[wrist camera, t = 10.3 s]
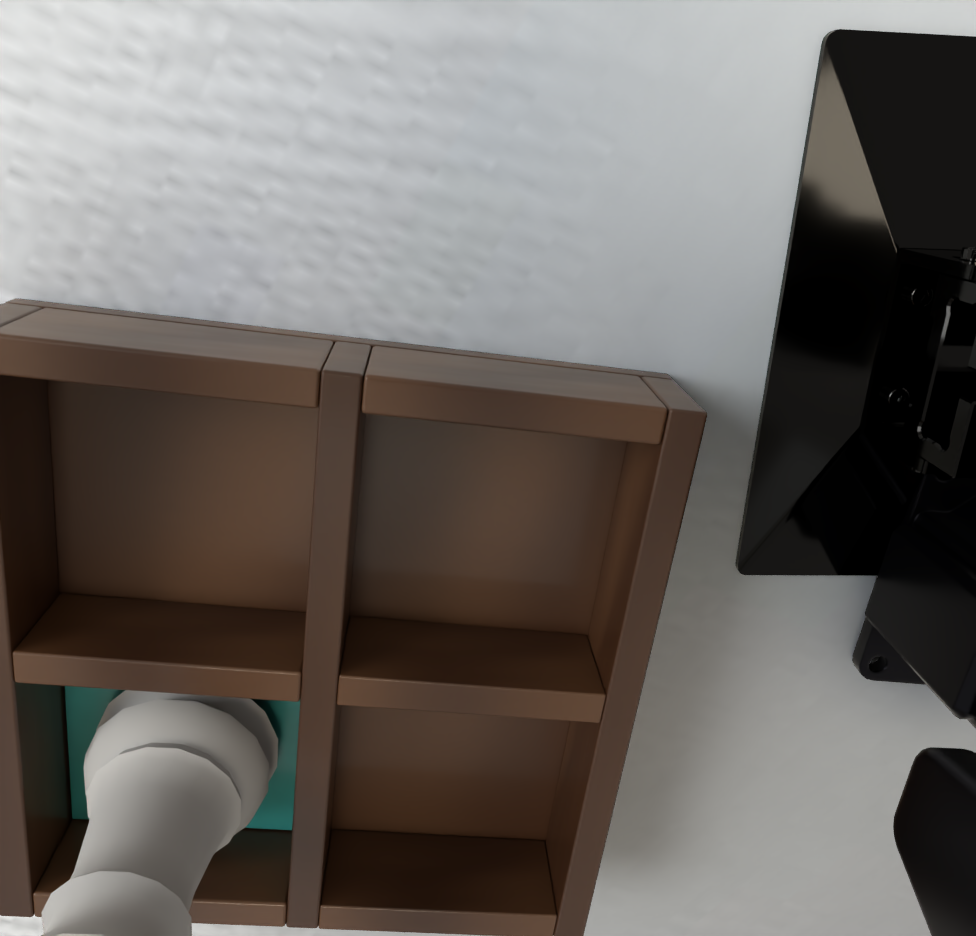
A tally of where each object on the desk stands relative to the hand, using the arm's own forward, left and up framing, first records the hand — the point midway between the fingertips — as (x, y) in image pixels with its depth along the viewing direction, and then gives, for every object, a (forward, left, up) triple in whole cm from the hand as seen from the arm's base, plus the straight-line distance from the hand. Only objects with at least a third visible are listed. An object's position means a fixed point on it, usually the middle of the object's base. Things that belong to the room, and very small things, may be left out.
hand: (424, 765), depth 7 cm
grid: (+2, +6, -13) cm, 14 cm away
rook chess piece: (+5, +10, -12) cm, 16 cm away
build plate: (-11, -2, -13) cm, 17 cm away
